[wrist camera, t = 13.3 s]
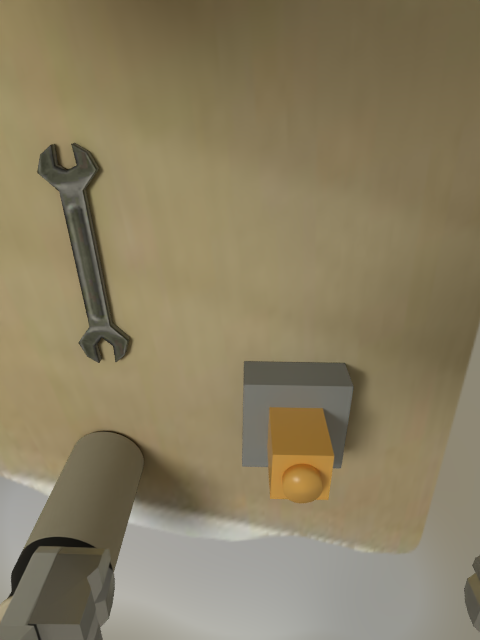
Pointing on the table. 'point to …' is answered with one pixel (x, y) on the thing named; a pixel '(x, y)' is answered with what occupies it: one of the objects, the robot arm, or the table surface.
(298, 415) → the orange cube with knob
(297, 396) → the box
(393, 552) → the table surface
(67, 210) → the wrench
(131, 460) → the travel mug
